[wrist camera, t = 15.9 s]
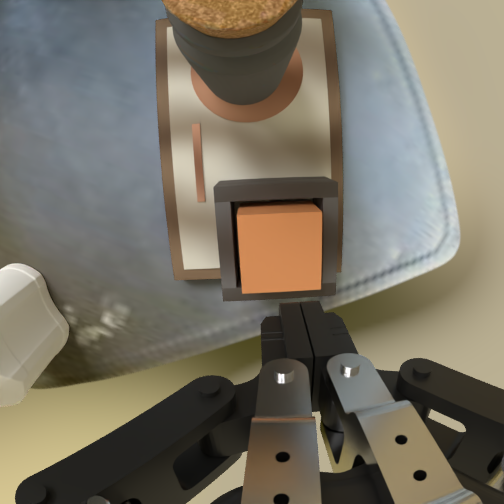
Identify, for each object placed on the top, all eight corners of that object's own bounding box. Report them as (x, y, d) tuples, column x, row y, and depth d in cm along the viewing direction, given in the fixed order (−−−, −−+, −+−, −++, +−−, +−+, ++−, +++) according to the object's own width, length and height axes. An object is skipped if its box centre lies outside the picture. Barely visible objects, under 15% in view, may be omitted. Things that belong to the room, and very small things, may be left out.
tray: (160, 26, 21) (139, 1, 16) (327, 16, 21) (344, -11, 16) (178, 273, 28) (162, 302, 23) (337, 265, 28) (354, 293, 23)
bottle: (299, 68, 21) (358, -24, 7) (245, 121, 23) (233, 83, 8) (241, 22, 20) (228, -102, 6) (188, 74, 21) (106, -8, 7)
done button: (239, 203, 23) (236, 215, 19) (310, 200, 23) (322, 211, 19) (243, 270, 24) (242, 293, 20) (310, 266, 24) (320, 289, 20)
